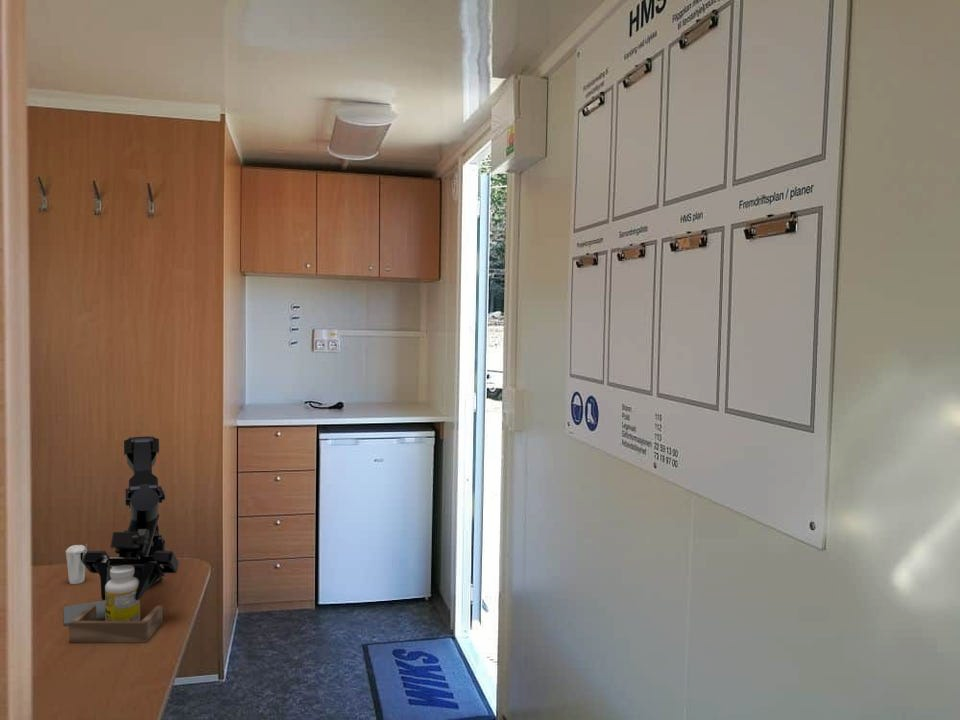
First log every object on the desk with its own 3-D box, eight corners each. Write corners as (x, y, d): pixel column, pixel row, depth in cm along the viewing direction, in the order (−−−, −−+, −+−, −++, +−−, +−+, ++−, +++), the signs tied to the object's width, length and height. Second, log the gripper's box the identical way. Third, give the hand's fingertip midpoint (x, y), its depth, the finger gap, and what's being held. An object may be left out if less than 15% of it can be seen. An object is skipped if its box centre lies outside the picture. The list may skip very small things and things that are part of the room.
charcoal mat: (63, 609, 165) (63, 606, 165) (112, 601, 170) (112, 599, 170) (64, 625, 157) (63, 623, 157) (116, 617, 162) (116, 614, 162)
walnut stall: (90, 623, 158) (90, 605, 158) (162, 623, 159) (162, 605, 159) (69, 642, 149) (69, 623, 149) (145, 642, 150) (145, 623, 150)
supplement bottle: (106, 623, 158) (106, 565, 158) (140, 618, 161) (139, 561, 160) (104, 636, 152) (103, 575, 151) (139, 631, 155) (138, 571, 154)
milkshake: (80, 586, 179) (80, 546, 178) (61, 584, 180) (61, 544, 179) (94, 579, 183) (93, 540, 182) (75, 577, 184) (75, 538, 184)
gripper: (85, 514, 158) (60, 583, 148) (173, 515, 160) (154, 583, 149) (102, 539, 167) (79, 605, 157) (186, 539, 168) (168, 605, 158)
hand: (119, 599), depth 155 cm, fingers closed on supplement bottle, 7 cm apart
